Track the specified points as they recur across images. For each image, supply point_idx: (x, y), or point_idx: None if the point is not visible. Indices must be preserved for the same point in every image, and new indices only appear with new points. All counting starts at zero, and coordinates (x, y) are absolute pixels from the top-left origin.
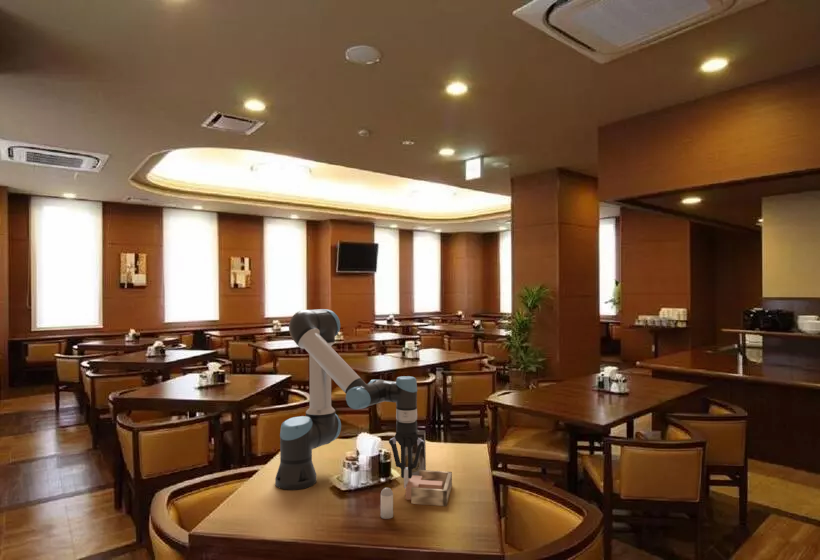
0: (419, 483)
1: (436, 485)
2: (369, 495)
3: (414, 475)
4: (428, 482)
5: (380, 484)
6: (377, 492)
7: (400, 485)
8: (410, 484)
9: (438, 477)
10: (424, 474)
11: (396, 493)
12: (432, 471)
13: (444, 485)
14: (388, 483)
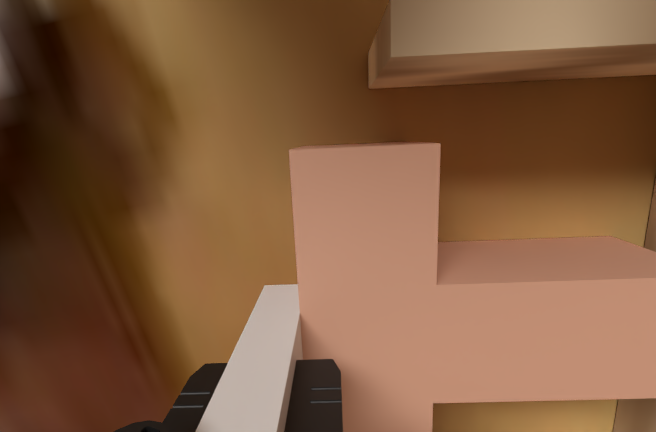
0: (437, 388)
1: (633, 395)
2: (33, 400)
3: (329, 151)
4: (540, 344)
5: (4, 167)
6: (63, 339)
7: (193, 150)
8: (343, 429)
9: (646, 61)
10: (461, 63)
11: (217, 329)
12: (619, 25)
13: (639, 73)
14: (63, 125)
